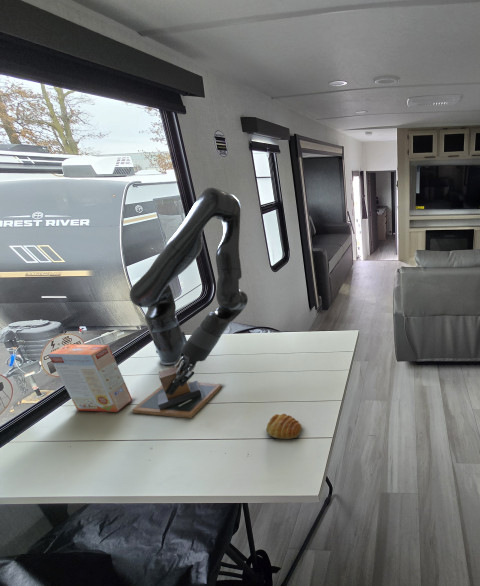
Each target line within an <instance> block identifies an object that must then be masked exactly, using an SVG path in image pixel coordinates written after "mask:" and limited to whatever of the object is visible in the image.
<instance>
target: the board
mask: <svg viewBox="0 0 480 586" xmlns="http://www.w3.org/2000/svg"><path fill="white" fill-rule="evenodd" d="M191 382H192V381H188V384H189V383H191ZM198 384H199V388H200V391H201V395H199V396H196V397H194V398H191V399H188V400H186V401H183V402H181V403H178V404H175V405H173V406H170V407H167V408H165V409H162V410H160V409H159V406H158V396H157V395H158V394H161V393H163V392H165V391H164V389H163V386H162V385H161V386H160V387H158V388H157V389H156V390H155V391H153V392H152V393H151V394H149V395H148V396H147V397H146V398H144V400H143V399H142V401H141V402H139V403H138V404H137V405H136V406H134V407H133V408H132V409H131V411H132V413H133V414H134V413H135V414H144V415H153V416H154V415H155V416H165V417H166V416H167V417H177V418H185V419H187V418H188V419H192V418H193V417H194V416H195V415H197V413H198V412H199V411H200V410H201V409H202V408H203V407H204V406H205V405H206V404H207V403H208V402H209V401H210V400H211V399H212V398H213V397H214V396H215V395H216V394H217V393H218V392H219V390H220V389H221V388H222V384H221V383H210V382H198Z"/></svg>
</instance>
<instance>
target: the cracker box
mask: <svg viewBox="0 0 480 586" xmlns="http://www.w3.org/2000/svg"><path fill="white" fill-rule="evenodd" d="M47 356H48V357H49V360H50V361H51V363H52V365H53V367H54V369H55V371H56V373H57V375H58V376H59V378H60V380H61V382H62V384H63V386H64V387H65V390H66V391H67V394H68V395H69V398H70V399H71V401H72V403H73V405H74V407H75V408H76V409H75V410H77V411H86V412H87V411H88V412H110V413H112V412H113V413H115V412H116V413H118V412H119V411H120V410H121V409H123V408H124V407H126V406H127V405H128V404H129V403H131V402H132V401H133V398H132V396H131V393H130V391H129V388H128V386H127V383H126V382H125V379H124V377H123V375H122V373H121V370H120V368H119V365H118V364H117V361H116V358H115V357H114V354H113V352H112V349H111V347H110V345H109V344H75V343H74V344H72V343H70V344H69V343H68V344H65V345H63V346H61V347H59V348H58V349H56V350H53V351H51V352H49V353H48V354H47Z"/></svg>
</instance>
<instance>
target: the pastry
mask: <svg viewBox="0 0 480 586" xmlns="http://www.w3.org/2000/svg"><path fill="white" fill-rule="evenodd" d="M302 427H303V426H302V424H301V423H300V422H299V420H296V418H294V417H293V416H291V415H289V414H287V413H281V414H278V413H276V414H274V415H273V416H272V417H271V418H269V421H268V422H267V425H266V431H265V432H266V433H267V434H268V435H269V436H271V437H273V438H275V439H281V440H283V439H284V440H291V439H296V438H297V437H299V435H300V434H301V433H302V429H303V428H302Z"/></svg>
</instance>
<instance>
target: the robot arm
mask: <svg viewBox="0 0 480 586" xmlns="http://www.w3.org/2000/svg"><path fill="white" fill-rule="evenodd" d="M212 219H215V220H216V219H217V220H220V221H221V223H222V228H223V232H222V233H223V234H222V238H221V240H220V243H219V244H218V246H217V249H216V253H215V266H216V272H217V280H216V291H215V298H216V301H217V304H218V307H217V308H216V309H214V310H212V311H210V312H209V313H207V315H206V316H205V317H204V319H202V321H201V322H200V324H199V325H198V327H197V328H196V329H195V330H194V331H193V332H192V333H191V335H190V336H189V338H188V339H187V337H186V334H185V331H182V329H181V326H180V323H179V319H178V317H177V314H176V309H177V308H176V307H177V306H176V302H175V298H174V294H173V291H172V288H171V285H170V283H172V281H173V280H175V279H176V278H177V277H179V276H180V275H181V274H182V273H183V272H184V271H186V269H188V268H189V267H190V266H191V265H192V264H193V263H194V261H195V260H196V259H197V257H199V255H200V253H201V252H202V249H203V232H204V229H205V227H206V226H207V224H208V223H209V222H210V221H211V220H212ZM240 229H241V204H240V201H239V199H238V198H237V197H236V195H234V194H231V193H229V192H226V191H224V190H221V189H220V188H217V187H211V186H210V187H207V188H205V189H204V190H203V191H202V192H201V193H200V194H199V195H198V196H197V199H196V201H195V202H194V204H193V205H192V207H191V209H190V210H189V212H188V214H187V216H186V217H185V218H184V220H183V222H182V224H181V225H180V226H179V227H178V229H177V230H176V232H175V233H174V234H173V235H172V236H171V238H170V239H169V240H168V241H167V243H166V244H165V245H164V247H163V249H162V250H161V251H160V253H159V254H158V255H157V257H156V258H155V259H154V261H153V262H152V264H151V266H150V267H149V268H148V269H147V271H146V272H145V273H144V274H143V275H142V276H141V277H140V278H139V279H138V280H137V281H136V282H135V283H134V284H133V285H132V286H131V288H130V290H129V298H130V301H131V302H132V303H133V305H135V306H136V307H139V308H147V311H146V312H145V314H144V321H145V323H146V326H147V328H148V332H149V334H150V337H151V338H152V342H153V345H154V346H155V349H156V350H155V352H156V354H157V356H158V358H159V361H160V364H161V365H163V366H171V365H173V366H172V367H171V368H173V367H178V366H179V368H178V369H177V371H176V376H175V378H174V379H173V381H172V383H171V384H170V385H169V387H168V388H167V389H166V391H165V393H166V394H169V395H173V394H174V392H175V391H176V389H177V388H178V387H179V385H180V386H183V385H184V384H185V383H186V382H187V381H188V382H189V380H190V379H191V378H192V377H193V376H194V375H195V371H194V369H195V368H196V365H197V362H205V361H206V360H207V358H208V357H209V355H210V354H211V352H212V351H213V350H214V349H215V347H216V346H217V344H218V342H219V341H220V338H221V337H222V336H223V334H224V333H225V332H226V330H227V328H228V327H229V325H231V323H232V322H233V321H234V320H235V319H237V317H238V316H239V315H240V314H241V313H242V312H243V311H244V310H245V308H246V306H247V305H248V302H249V299H248V294H247V293H246V292H245V291H243V290H242V289H240V280H241V279H242V277H243V271H242V263H241V256H240V232H241V231H240ZM180 371H181V372H183V373H182V374H180V373H179V372H180ZM180 380H181V381H180Z"/></svg>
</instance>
